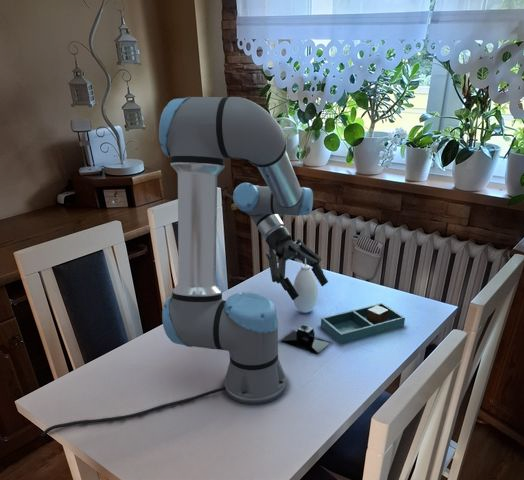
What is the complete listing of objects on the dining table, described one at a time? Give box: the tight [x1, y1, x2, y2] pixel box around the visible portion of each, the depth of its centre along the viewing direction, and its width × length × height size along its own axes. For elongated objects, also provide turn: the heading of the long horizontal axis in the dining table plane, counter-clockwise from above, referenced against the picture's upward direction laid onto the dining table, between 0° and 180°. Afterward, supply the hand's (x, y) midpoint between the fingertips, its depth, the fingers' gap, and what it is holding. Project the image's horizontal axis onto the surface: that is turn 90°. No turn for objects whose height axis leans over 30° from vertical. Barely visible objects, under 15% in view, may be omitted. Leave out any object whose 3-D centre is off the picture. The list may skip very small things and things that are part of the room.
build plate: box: [280, 324, 331, 355], centre depth 137 cm, size 12×7×5 cm, turn 54°
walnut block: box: [367, 305, 389, 325], centre depth 145 cm, size 4×4×4 cm
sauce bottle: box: [292, 258, 319, 314], centre depth 150 cm, size 8×8×18 cm
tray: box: [320, 302, 406, 345], centre depth 143 cm, size 22×11×3 cm, turn 114°
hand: (310, 291), depth 149 cm, fingers open, 13 cm apart
